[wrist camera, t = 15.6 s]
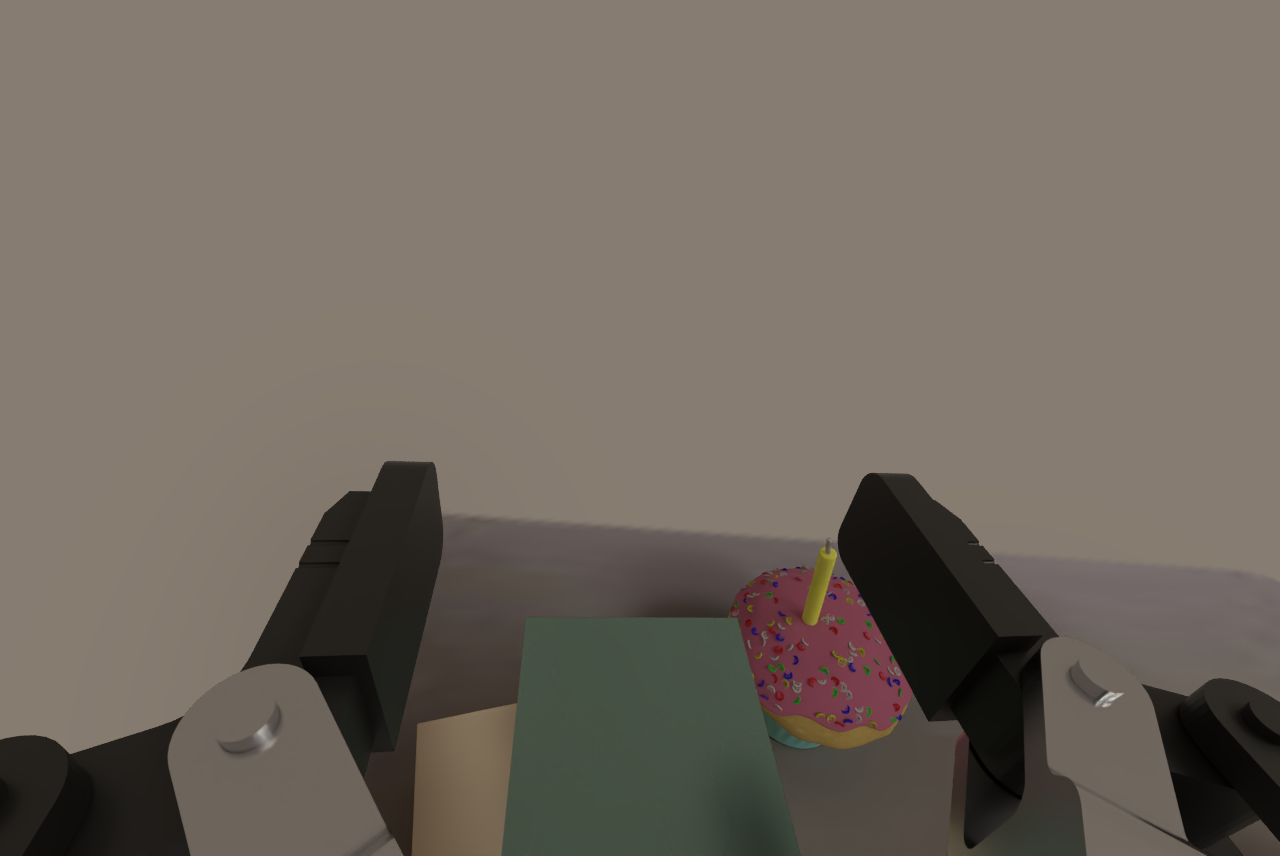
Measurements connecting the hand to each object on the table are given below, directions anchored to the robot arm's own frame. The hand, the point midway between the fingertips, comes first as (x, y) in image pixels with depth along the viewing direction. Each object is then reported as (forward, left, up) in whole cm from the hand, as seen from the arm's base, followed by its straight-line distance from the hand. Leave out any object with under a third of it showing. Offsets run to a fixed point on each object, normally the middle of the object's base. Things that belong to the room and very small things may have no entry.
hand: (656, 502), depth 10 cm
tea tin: (-1, +1, -15) cm, 15 cm away
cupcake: (-5, -11, -19) cm, 23 cm away
